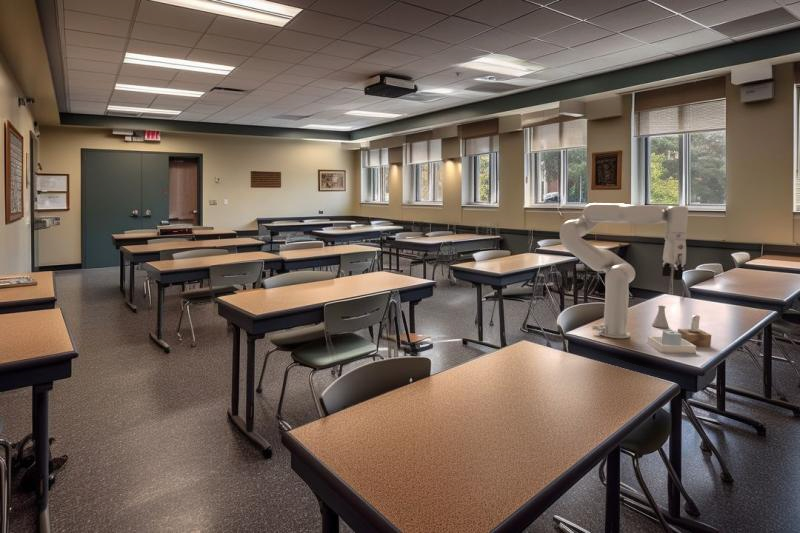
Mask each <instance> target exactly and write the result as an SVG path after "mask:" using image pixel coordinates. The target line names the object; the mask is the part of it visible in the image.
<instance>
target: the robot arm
mask: <svg viewBox="0 0 800 533" xmlns="http://www.w3.org/2000/svg"><path fill="white" fill-rule="evenodd" d="M688 216H689V208H688V207H687V206H684V205H683V206H681V205H677V206H676V205H671V206H667V205H666V206H665V205H659V204H658V205H657V204H655V205H654V204H653V205H650V204H649V205H646V204H645V205H643V204H642V205H641V204H640V205H639V204H638V205H637V204H625V203H613V202H612V203H606V202H605V203H602V202H599V203H597V202H593V203H588V204H587V205H585V206H584V208H583V210H582V215H580V216H579V217H578V218H576V219H569V220H567V221H565V222H564V223H563V224H562V225H561V226H560V228H559V239H560V242H561V244H562V246H563V247H564V248H565V249H566V250H567V251H568V252H569V253H570V254H572V255H573V256H575V257H576V258H577V259H579V260H580V261H581V262H582V263H584V264H585V265H586V266H587V267H588V268H590V269H591V270H593V271H595V272H601V271H602V272H604V273H605V275H604V284H605V285H604V287H605V292H604V293H605V295H604V296H605V297H604V311H603V312H604V313H603V323H602V322H601V324H599V325H594V324H593V325H592V326H591V330H594V331H595V330H596V331H598V333H599V335H601V336H603V337H606V338H610V339H611V338H612V339H620V340H621V339H622V340H623V339H628V338H630V336H631V333H629V332H628V331H627V327H628V326H627V325H628V313H629V300H630V299H629V298H630V297H629V296H630V290H629V288H630V287H629V284H630V283H631V282H633V281H634V279H635V277H636V270H635V268H634V267H633V266H632V264H630V263H628V262H627V261H626V260H624V259H623V258H621V257H620V256H618V255H617V254H616V253H614V252H613V251H611V250H609V249H606V248H605V249H600V248H597V247H596V246H594V245H592V243H591V242H589V241H587V240H585V239H584V238H582V237H584V236H585V235H588V234H589V233H590V232H591V231H592V230H594V229H595V228H596V227H597V226H599V224H601V223H607V224H608V223H613V224H644V225H645V224H646V225H657V224H663V223H664V224H665V231H664V240H665V241H664V246H663V253H662V254H663V255H661V257H662V261H661V262H662V265H661V266H662V271H661V272H662V273H661V276H662V277H671V273H672V266H671V265H673V266H674V270H673V280H675V281H682V280H683V275H684V274H683V273H684V270H685V269H684V268H685V266H686V262H687V241H686V240H687V231H688V229H687V228H688V219H689V218H688Z"/></svg>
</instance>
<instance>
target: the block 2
mask: <svg viewBox="0 0 800 533" xmlns="http://www.w3.org/2000/svg"><path fill="white" fill-rule="evenodd" d="M690 331H691V328H677V332H678V333H680V334H682V335H681V338H682V339H684V340H686V341H688V342H689V343H691V344H693V345H695V346H696V348H697V347H700V348H702V347H703V348H706V347H707V348H711V343H712V334H710V333H708V332H706V331H705V330H701V329H698V333H690Z"/></svg>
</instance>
